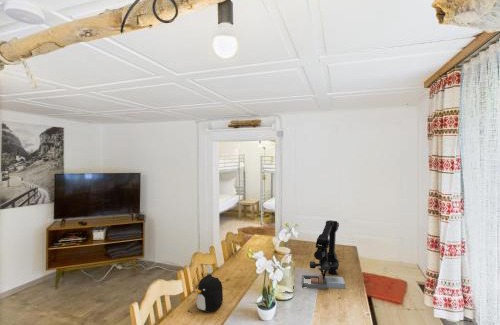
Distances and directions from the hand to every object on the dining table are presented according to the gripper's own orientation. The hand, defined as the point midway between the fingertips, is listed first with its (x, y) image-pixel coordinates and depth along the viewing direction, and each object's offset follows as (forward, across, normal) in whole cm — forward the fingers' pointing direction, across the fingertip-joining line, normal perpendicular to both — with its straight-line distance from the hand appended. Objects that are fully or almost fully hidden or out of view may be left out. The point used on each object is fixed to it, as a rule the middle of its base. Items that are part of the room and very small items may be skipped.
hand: (323, 277), depth 177 cm
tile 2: (+2, -1, 0) cm, 2 cm away
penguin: (+5, -70, -37) cm, 79 cm away
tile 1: (+2, -6, 0) cm, 7 cm away
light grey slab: (+5, +7, 0) cm, 9 cm away
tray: (+5, -7, 0) cm, 8 cm away
